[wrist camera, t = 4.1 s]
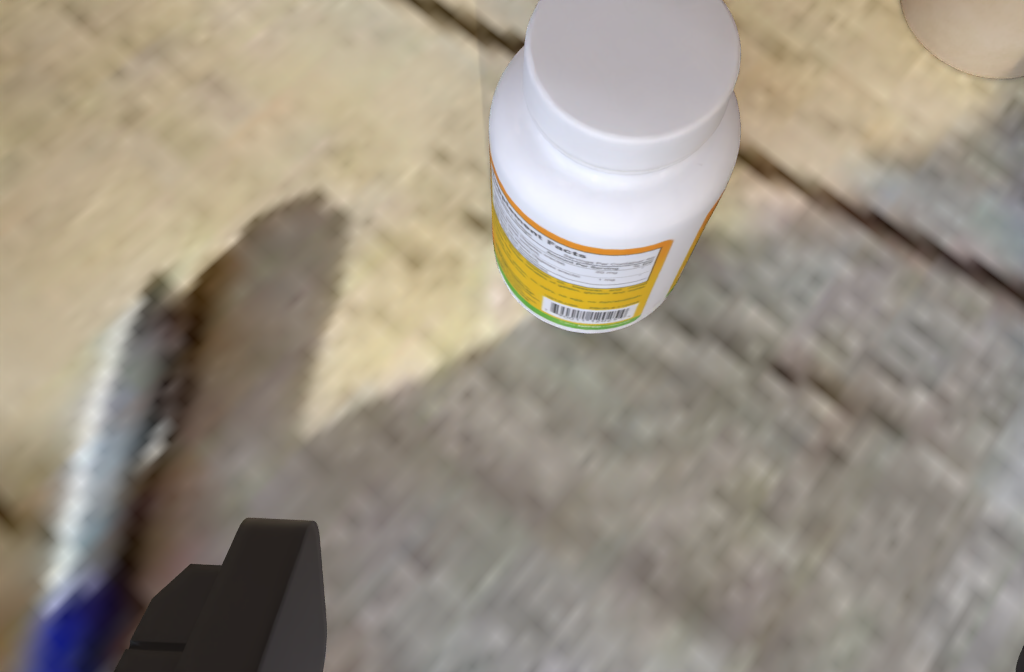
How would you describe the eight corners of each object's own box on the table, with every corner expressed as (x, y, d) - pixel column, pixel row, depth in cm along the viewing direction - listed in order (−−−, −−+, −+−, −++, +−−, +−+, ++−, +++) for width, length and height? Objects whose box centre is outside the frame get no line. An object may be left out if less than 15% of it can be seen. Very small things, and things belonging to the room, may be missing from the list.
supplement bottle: (603, 128, 27) (654, -126, 18) (721, 265, 26) (843, 69, 16) (455, 228, 26) (426, 15, 17) (570, 375, 25) (609, 234, 15)
